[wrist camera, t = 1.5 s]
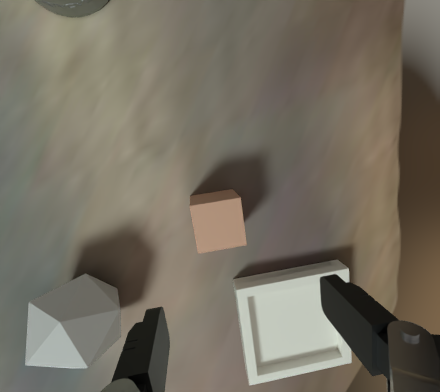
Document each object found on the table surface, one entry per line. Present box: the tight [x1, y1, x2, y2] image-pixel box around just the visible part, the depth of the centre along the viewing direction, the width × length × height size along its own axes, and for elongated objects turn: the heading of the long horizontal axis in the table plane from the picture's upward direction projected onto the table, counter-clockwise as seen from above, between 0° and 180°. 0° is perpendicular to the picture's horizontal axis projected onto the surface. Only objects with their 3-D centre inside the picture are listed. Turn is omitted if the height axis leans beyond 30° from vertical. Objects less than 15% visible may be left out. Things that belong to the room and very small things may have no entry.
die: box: [25, 273, 121, 368], centre depth 26 cm, size 8×9×10 cm
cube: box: [190, 189, 247, 254], centre depth 27 cm, size 5×5×5 cm
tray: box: [233, 259, 351, 385], centre depth 32 cm, size 14×14×2 cm
